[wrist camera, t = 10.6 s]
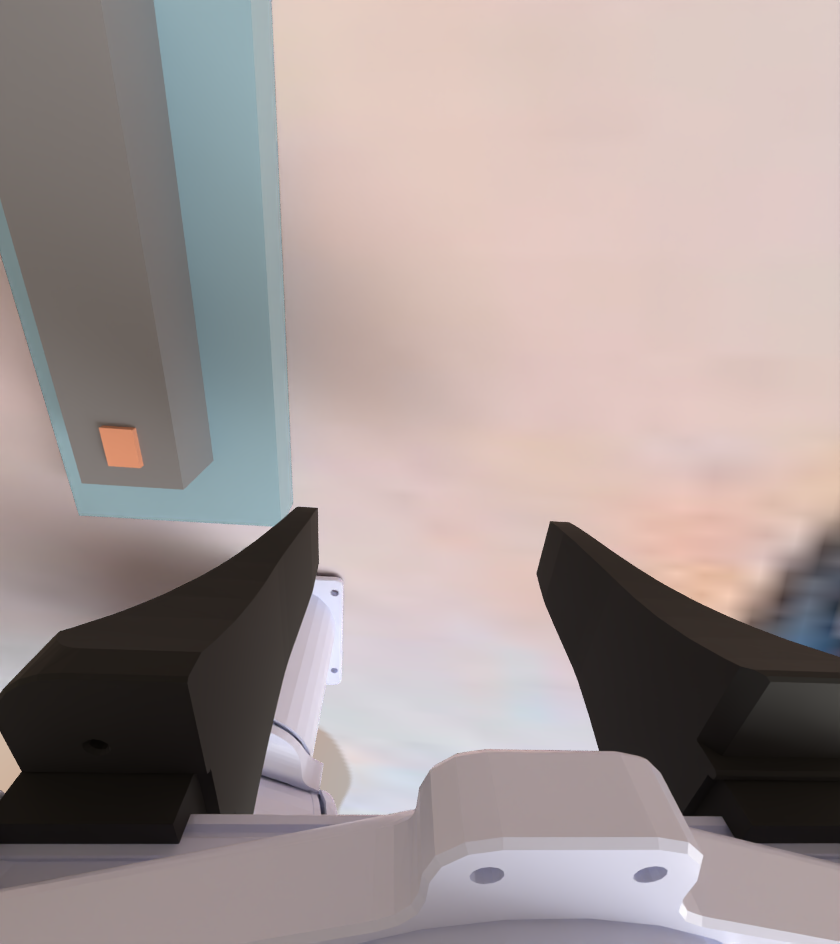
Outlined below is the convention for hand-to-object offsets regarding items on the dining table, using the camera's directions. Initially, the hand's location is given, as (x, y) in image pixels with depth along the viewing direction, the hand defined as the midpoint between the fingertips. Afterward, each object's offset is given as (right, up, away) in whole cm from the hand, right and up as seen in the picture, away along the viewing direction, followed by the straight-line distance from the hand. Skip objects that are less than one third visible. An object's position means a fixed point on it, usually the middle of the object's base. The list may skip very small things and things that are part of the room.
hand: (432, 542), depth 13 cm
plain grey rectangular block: (-12, +11, +5) cm, 17 cm away
